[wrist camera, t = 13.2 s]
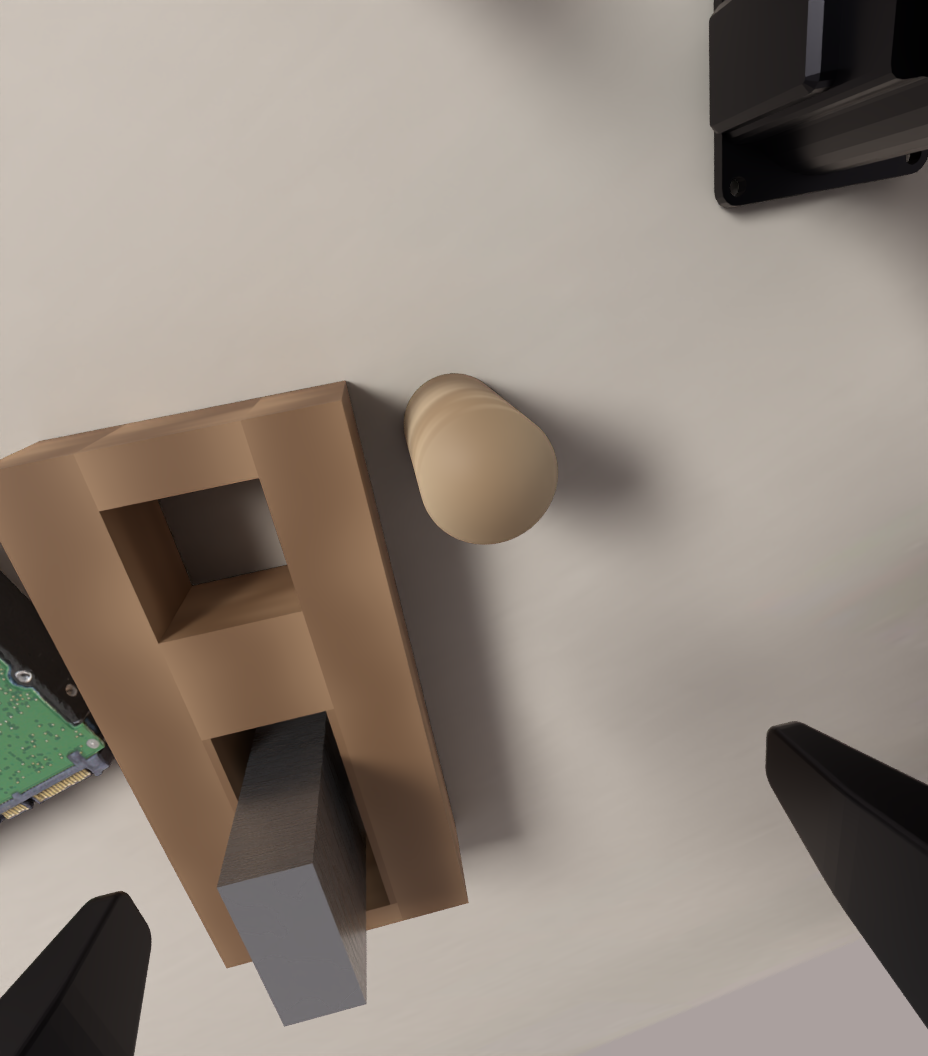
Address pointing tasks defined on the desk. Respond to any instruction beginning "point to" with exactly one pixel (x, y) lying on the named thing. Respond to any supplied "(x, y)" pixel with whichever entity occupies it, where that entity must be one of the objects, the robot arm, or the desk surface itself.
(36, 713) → the disk drive
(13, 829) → the desk surface
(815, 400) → the desk surface
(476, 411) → the round dowel
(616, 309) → the desk surface
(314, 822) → the tall grey rectangular prism
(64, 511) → the socket board
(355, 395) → the desk surface
